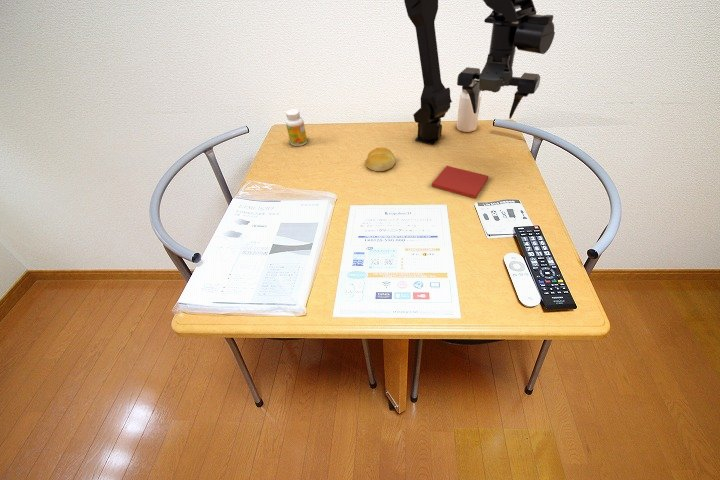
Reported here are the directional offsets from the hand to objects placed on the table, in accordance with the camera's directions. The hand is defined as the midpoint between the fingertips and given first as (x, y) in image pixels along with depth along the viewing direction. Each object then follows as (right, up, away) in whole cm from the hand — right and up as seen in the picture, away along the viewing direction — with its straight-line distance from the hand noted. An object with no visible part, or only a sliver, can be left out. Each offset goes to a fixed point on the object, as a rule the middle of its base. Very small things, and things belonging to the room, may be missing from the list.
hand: (492, 115), depth 94 cm
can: (-1, +6, +25) cm, 25 cm away
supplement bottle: (-55, 0, +22) cm, 59 cm away
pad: (-8, -17, +2) cm, 19 cm away
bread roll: (-29, -10, +11) cm, 33 cm away
